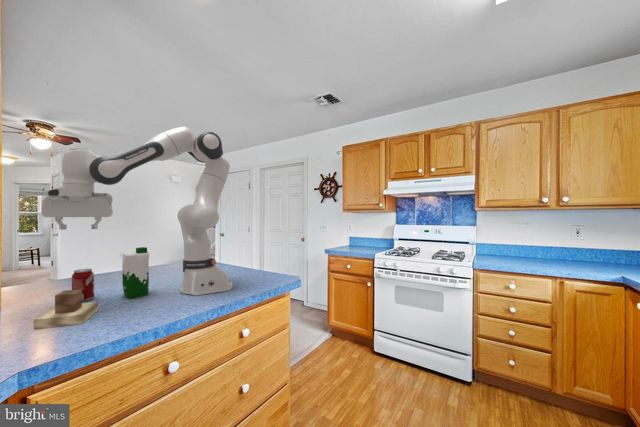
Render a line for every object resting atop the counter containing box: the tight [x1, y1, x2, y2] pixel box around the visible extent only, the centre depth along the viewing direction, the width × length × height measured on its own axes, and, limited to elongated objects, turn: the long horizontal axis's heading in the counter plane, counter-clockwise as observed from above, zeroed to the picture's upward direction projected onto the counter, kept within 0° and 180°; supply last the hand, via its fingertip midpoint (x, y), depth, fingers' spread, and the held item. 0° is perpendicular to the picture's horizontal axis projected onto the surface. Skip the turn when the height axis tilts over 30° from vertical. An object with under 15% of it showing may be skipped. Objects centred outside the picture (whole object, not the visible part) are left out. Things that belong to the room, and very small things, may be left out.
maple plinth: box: [33, 301, 99, 330], centre depth 90 cm, size 12×12×3 cm
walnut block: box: [54, 289, 82, 314], centre depth 90 cm, size 5×5×6 cm
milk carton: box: [121, 246, 150, 300], centre depth 114 cm, size 9×9×20 cm
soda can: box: [71, 268, 95, 302], centre depth 108 cm, size 7×7×12 cm
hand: (79, 229), depth 101 cm, fingers open, 8 cm apart
